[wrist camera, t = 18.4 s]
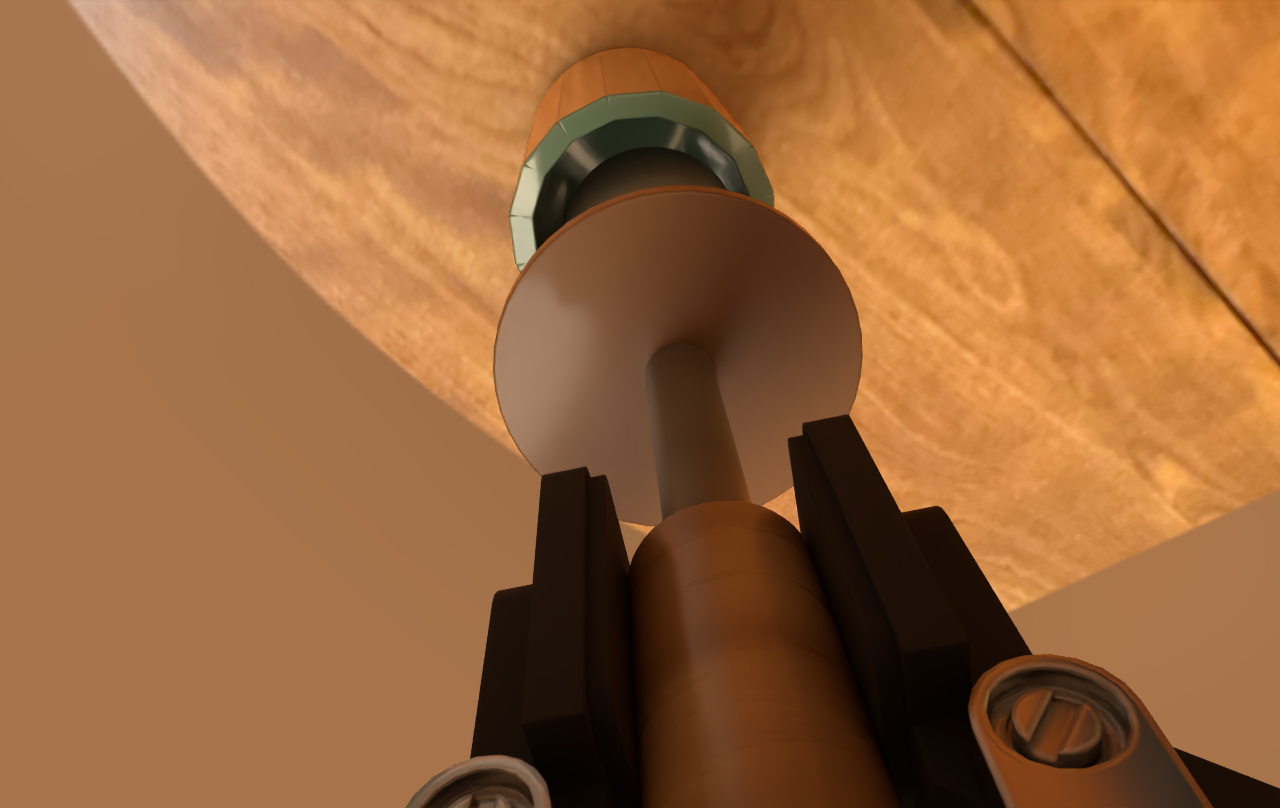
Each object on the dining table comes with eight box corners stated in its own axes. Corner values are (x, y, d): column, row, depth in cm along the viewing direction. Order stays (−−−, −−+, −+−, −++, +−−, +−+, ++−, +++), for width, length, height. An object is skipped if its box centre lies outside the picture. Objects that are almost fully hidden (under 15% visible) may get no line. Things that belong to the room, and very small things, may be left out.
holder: (507, 214, 32) (482, 310, 24) (561, 18, 29) (553, 53, 21) (686, 269, 33) (719, 378, 25) (755, 86, 30) (816, 143, 22)
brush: (497, 313, 24) (282, 1195, 7) (562, 67, 21) (461, 558, 5) (725, 375, 25) (998, 1262, 8) (814, 149, 23) (1477, 783, 6)
